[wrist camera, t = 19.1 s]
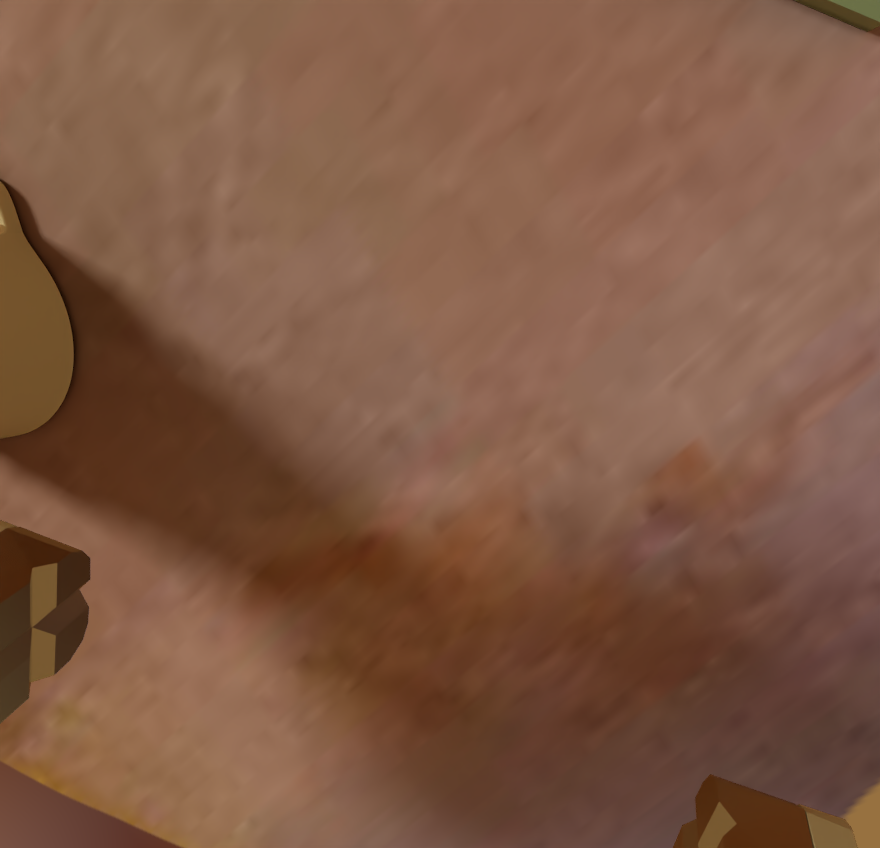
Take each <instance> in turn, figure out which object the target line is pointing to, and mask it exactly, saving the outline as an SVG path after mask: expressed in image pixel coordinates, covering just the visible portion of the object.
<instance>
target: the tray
mask: <svg viewBox="0 0 880 848" xmlns="http://www.w3.org/2000/svg"><path fill="white" fill-rule="evenodd" d="M794 1H796V2H798V3H801V4H803V5H805V6H808V7H810V8H813V9H815V10H817V11H820V12H822V13H824V14H827V15H829V16H831V17H834V18H836V19H838V20H841V21H843V22H845V23H848V24H850V25H852V26H855V27H857V28H859V29H862V30H864V31H867V32H868V31H870V30H872V29H874V28H876V27H878V26H880V0H794Z"/></svg>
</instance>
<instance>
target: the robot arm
mask: <svg viewBox="0 0 880 848" xmlns="http://www.w3.org/2000/svg"><path fill="white" fill-rule="evenodd" d="M73 363H74V347H73V336H72V330H71V325H70V321H69V317H68V314H67V310H66V307H65V305H64V302H63V299H62V297H61V295H60V292H59V290H58V288H57V286H56V284H55V282H54V280H53V279H52V277H51V275H50V273H49V272H48V270H47V269H46V267H45V266H44V264H43V263H42V261H41V260H40V258H39V257H38V256H37V254H36V253H35V251H34V250H33V249H32V247H31V246H30V244H29V243H28V241H27V239H26V237H25V236H24V234H23V232H22V228H21V225H20V222H19V219H18V216H17V213H16V210H15V207H14V204H13V202H12V199H11V197H10V195H9V193H8V191H7V189H6V188H5V186H4V185H3V184H2V183H1V182H0V439H1V438H7V437H12V436H18V435H22V434H25V433H28V432H31V431H33V430H35V429H37V428H39V427H40V426H42V425H43V424H44V423H46V422H47V421H48V420H49V419H50V418H51V417H52V416H53V415H54V414H55V413H56V411H57V410H58V409H59V407H60V406H61V404H62V402H63V400H64V398H65V396H66V394H67V391H68V388H69V385H70V382H71V378H72V372H73ZM89 580H90V557H88V556H87V555H86V554H85V553H84V552H83V551H82V550H79V549H76V548H74V547H71V546H69V545H66V544H63V543H61V542H58V541H56V540H53V539H50V538H48V537H45V536H43V535H40V534H37V533H35V532H32V531H30V530H27V529H24V528H22V527H17V526H14V525H12V524H9V523H7V522H4V521H2V520H0V723H1V722H3V721H4V720H5V719H6V718H7V717H8V716H9V715H10V714H12V713H13V712H14V711H15V710H16V709H17V708H18V707H19V706H21V705H22V704H23V703H24V702H25V701H26V700H27V699H28V698H29V693H30V686H31V682H34V681H37V680H40V679H43V678H47V677H50V676H53V675H55V674H56V673H57V672H58V671H59V670H60V669H61V668H62V667H63V666H64V665H66V664H67V663H68V662H69V661H70V660H71V658H72V656H73V655H74V653H75V652H76V650H77V648H78V647H79V645H80V644H81V642H82V640H83V637H84V634H85V631H86V628H87V624H88V615H89V606H88V605H87V603H86V601H85V599H84V597H83V595H82V593H81V591H80V590H79V589H80V588H81V587H82V586H84V585H85V584H86V583H87V582H88V581H89ZM695 802H696V819H695V820H693V821H691V822H688V823H686V824H684V825H682V827H681V830H680V832H679V834H678V836H677V839H676V841H675V843H674V846H673V848H857V844H856V841H855V838H854V834H853V831H852V828H851V826H850V825H849V824H848V823H847V822H846V820H845V819H842V818H839V817H836V816H833V815H830V814H827V813H824V812H821V811H818V810H815V809H812V808H809V807H806V806H803V805H800V804H799V805H796V804H794V803H791V802H789V801H786V800H783V799H780V798H777V797H774V796H771V795H768V794H766V793H763V792H760V791H757V790H754V789H751V788H748V787H745V786H743V785H740V784H737V783H734V782H731V781H728V780H725V779H723V778H720V777H717V776H714V775H711V774H710V775H709V776H708V777H707V778H706V779H705V781H704V782H703V783H702V785H701V787H700V789H699V791H698V793H697V795H696V797H695Z"/></svg>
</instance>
